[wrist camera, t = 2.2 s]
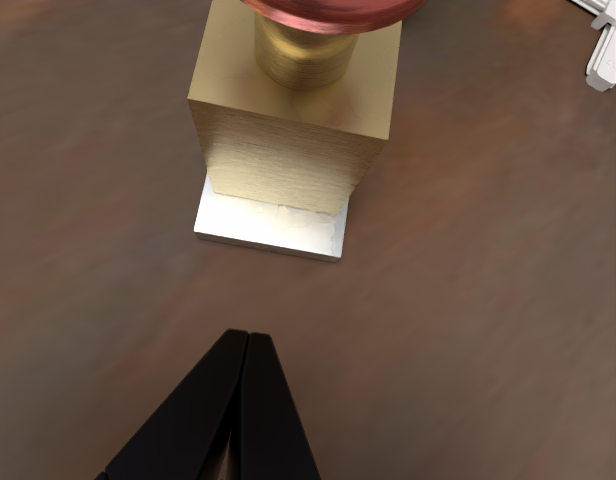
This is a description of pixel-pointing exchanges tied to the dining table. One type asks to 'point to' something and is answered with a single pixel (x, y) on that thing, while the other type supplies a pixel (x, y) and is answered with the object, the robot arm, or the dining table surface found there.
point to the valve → (296, 96)
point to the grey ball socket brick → (270, 226)
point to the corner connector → (602, 44)
